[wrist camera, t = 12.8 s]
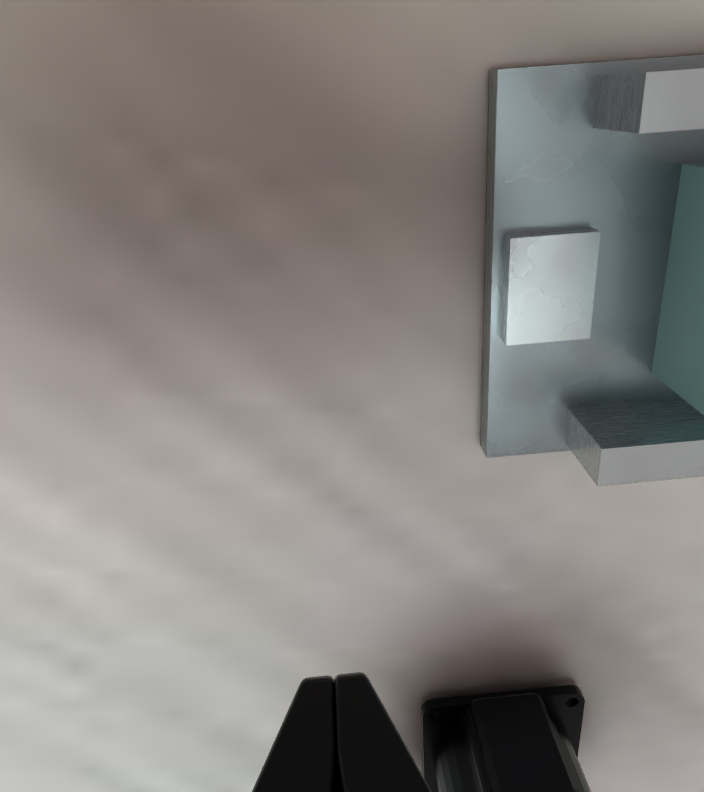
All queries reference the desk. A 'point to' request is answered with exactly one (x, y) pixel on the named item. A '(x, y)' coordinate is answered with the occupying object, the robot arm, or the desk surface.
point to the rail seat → (587, 263)
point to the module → (684, 295)
